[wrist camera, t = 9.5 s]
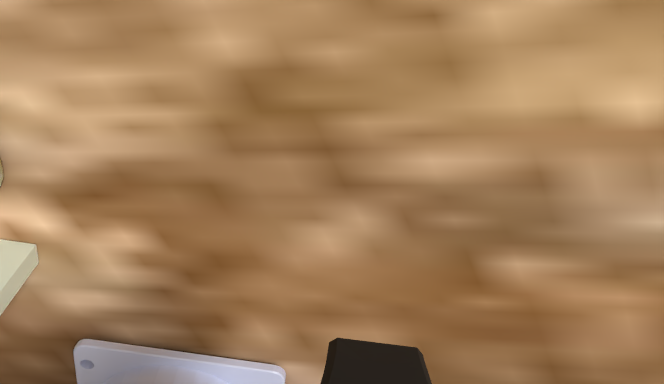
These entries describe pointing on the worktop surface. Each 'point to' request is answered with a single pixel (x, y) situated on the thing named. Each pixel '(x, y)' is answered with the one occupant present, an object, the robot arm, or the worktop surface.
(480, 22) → the worktop surface
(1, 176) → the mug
